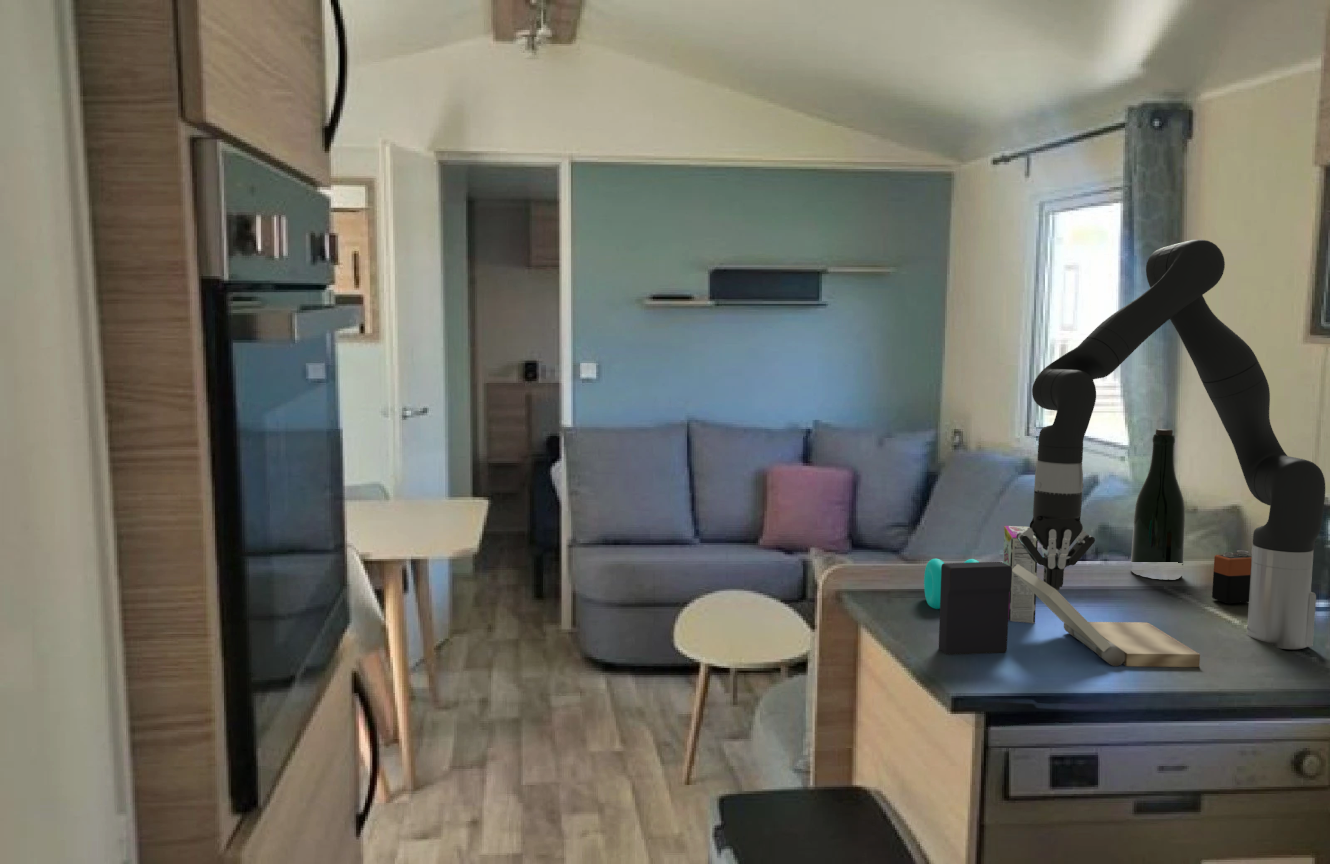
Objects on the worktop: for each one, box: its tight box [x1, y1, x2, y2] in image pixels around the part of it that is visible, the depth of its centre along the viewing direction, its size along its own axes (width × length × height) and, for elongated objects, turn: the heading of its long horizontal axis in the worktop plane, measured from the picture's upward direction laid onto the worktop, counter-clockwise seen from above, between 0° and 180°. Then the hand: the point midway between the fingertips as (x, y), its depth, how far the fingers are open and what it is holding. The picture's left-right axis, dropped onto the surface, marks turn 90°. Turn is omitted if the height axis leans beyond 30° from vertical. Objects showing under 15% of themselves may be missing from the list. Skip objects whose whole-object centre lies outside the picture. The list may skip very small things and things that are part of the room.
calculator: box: [938, 561, 1012, 656], centre depth 169 cm, size 11×4×15 cm, turn 100°
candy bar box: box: [1002, 525, 1039, 624], centre depth 191 cm, size 11×5×16 cm, turn 168°
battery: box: [1211, 550, 1252, 604], centre depth 204 cm, size 4×7×10 cm, turn 104°
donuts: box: [923, 558, 980, 610], centre depth 195 cm, size 10×10×10 cm
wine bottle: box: [1130, 428, 1186, 564], centre depth 222 cm, size 10×10×33 cm
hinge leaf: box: [1012, 564, 1111, 654], centre depth 171 cm, size 16×18×3 cm
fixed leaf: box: [1063, 621, 1201, 668], centre depth 171 cm, size 15×18×3 cm
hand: (1052, 589), depth 171 cm, fingers closed
